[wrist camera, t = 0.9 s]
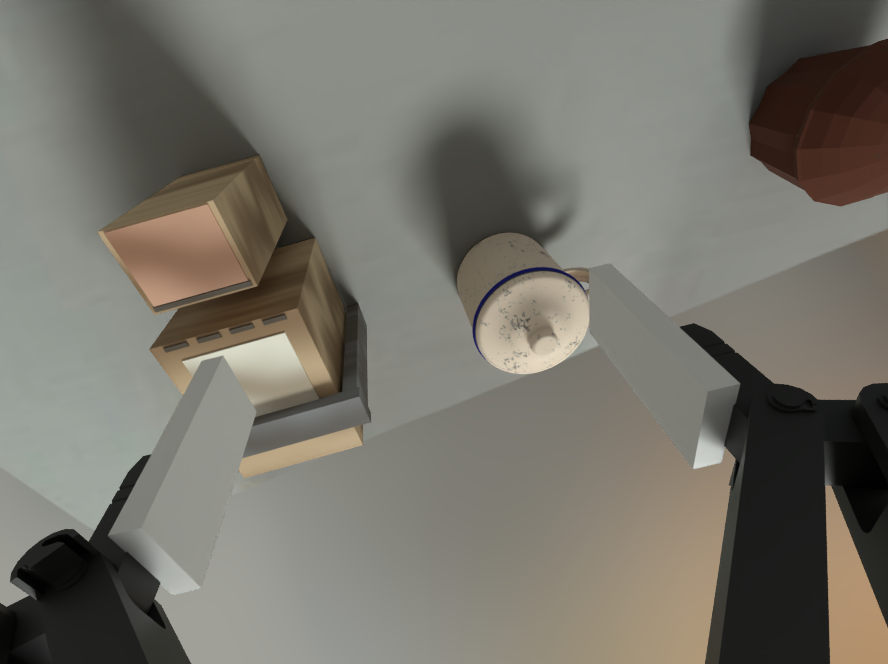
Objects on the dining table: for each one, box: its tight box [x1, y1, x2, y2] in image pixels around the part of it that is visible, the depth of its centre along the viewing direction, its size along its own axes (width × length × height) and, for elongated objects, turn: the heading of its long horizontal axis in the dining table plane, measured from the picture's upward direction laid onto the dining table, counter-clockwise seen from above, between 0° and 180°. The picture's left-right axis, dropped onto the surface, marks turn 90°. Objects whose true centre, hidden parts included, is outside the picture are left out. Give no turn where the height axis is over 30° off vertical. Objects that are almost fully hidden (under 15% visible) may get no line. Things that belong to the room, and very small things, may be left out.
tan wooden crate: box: [149, 238, 371, 478], centre depth 34 cm, size 12×12×13 cm
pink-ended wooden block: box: [98, 155, 288, 315], centre depth 29 cm, size 5×6×12 cm
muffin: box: [749, 39, 888, 206], centre depth 33 cm, size 12×11×10 cm
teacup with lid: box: [457, 233, 589, 374], centre depth 36 cm, size 12×9×12 cm
